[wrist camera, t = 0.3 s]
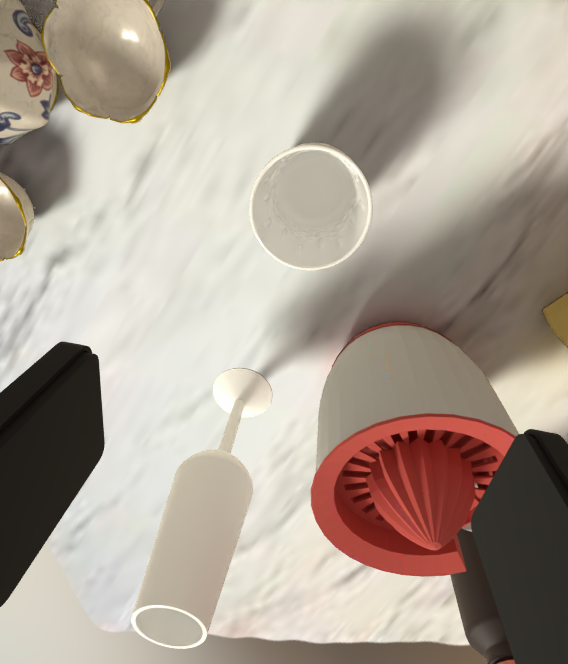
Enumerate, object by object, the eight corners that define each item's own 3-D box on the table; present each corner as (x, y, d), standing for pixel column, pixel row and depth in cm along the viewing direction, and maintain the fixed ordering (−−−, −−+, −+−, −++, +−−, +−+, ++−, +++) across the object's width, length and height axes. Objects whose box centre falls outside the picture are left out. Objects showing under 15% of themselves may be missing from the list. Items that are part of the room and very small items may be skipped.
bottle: (421, 508, 52) (466, 710, 35) (451, 473, 49) (517, 675, 32) (470, 525, 53) (538, 733, 35) (502, 491, 50) (595, 701, 32)
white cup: (295, 116, 33) (282, 119, 25) (380, 164, 34) (397, 183, 26) (254, 206, 37) (230, 237, 28) (333, 247, 38) (333, 289, 29)
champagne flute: (256, 360, 45) (187, 586, 24) (282, 408, 47) (242, 650, 26) (202, 378, 46) (93, 604, 25) (230, 423, 49) (153, 662, 28)
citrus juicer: (406, 458, 49) (447, 655, 31) (288, 376, 45) (259, 547, 28) (519, 373, 42) (653, 563, 25) (391, 268, 38) (441, 404, 21)
